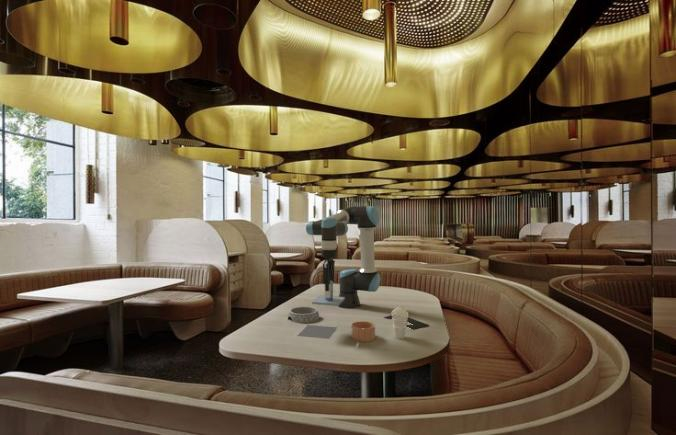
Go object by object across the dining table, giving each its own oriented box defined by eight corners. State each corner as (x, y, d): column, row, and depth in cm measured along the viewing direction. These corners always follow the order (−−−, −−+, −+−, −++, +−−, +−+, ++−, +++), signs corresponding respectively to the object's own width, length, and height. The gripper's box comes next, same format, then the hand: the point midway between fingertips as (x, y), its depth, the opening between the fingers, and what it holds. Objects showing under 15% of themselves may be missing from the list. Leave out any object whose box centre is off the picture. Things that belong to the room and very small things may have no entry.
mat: (307, 326, 171) (307, 324, 171) (337, 328, 167) (337, 327, 167) (297, 337, 155) (297, 335, 155) (329, 340, 152) (329, 338, 152)
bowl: (354, 332, 162) (354, 320, 162) (376, 334, 159) (376, 322, 159) (349, 340, 151) (349, 327, 151) (373, 342, 148) (373, 329, 148)
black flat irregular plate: (410, 332, 164) (430, 326, 172) (410, 331, 164) (430, 324, 172) (378, 319, 185) (398, 314, 193) (378, 317, 185) (398, 312, 193)
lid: (320, 297, 168) (320, 278, 168) (344, 299, 164) (344, 279, 164) (312, 304, 155) (312, 283, 155) (338, 306, 152) (338, 284, 152)
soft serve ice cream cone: (398, 341, 149) (398, 307, 149) (387, 336, 157) (387, 303, 157) (412, 338, 153) (412, 305, 153) (401, 333, 161) (401, 301, 161)
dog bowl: (309, 312, 195) (309, 304, 195) (325, 321, 180) (325, 311, 180) (283, 317, 186) (283, 308, 186) (297, 326, 171) (297, 316, 171)
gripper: (326, 247, 169) (326, 291, 169) (316, 250, 152) (316, 300, 152) (340, 247, 167) (340, 292, 167) (331, 251, 150) (331, 301, 150)
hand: (328, 296), depth 160 cm, fingers closed on lid, 4 cm apart
